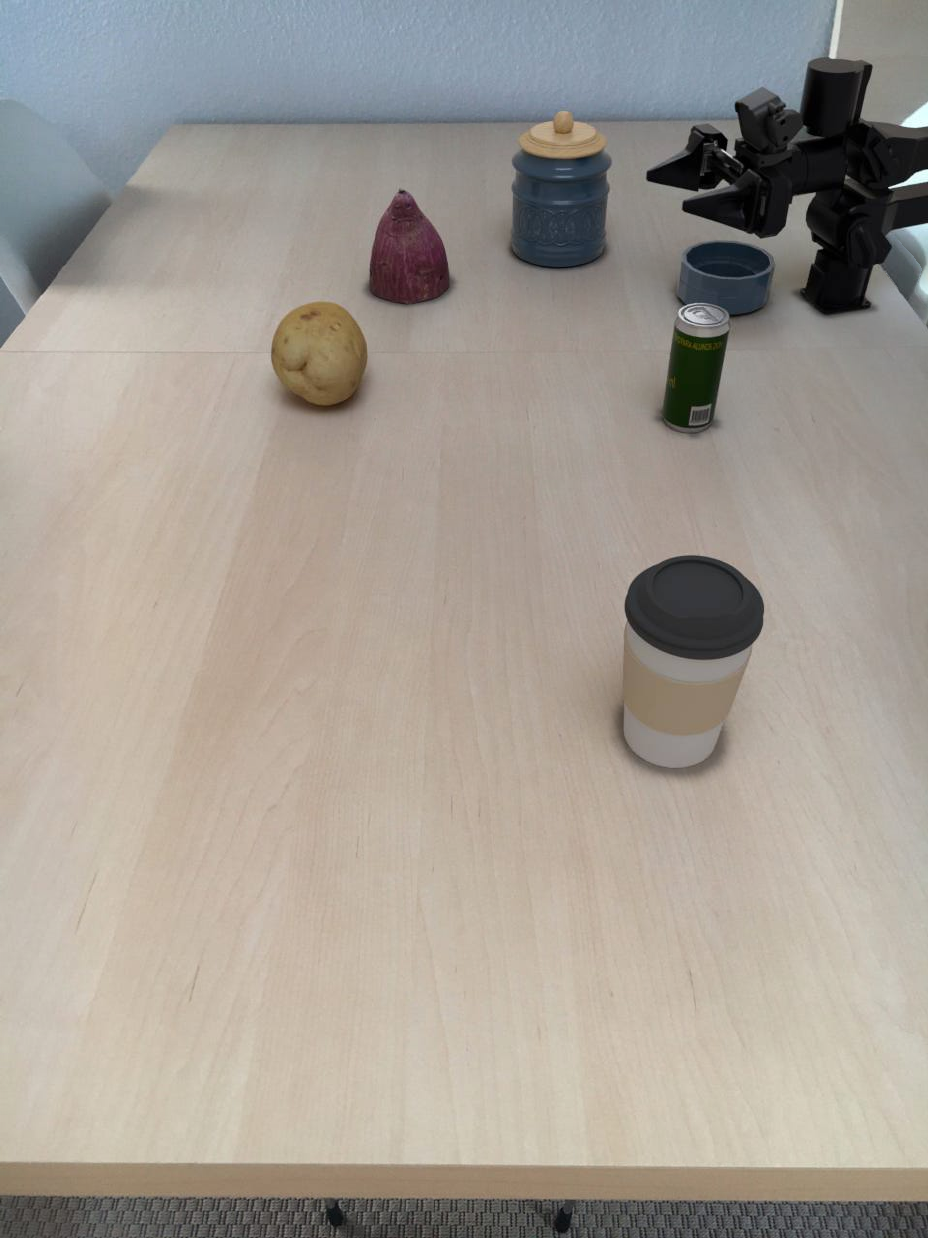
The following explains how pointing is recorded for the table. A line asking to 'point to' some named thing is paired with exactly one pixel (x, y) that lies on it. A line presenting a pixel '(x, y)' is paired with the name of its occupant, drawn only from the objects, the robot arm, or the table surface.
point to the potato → (319, 353)
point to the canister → (560, 193)
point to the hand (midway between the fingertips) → (664, 190)
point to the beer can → (695, 367)
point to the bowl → (726, 275)
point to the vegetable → (407, 255)
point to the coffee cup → (685, 655)
